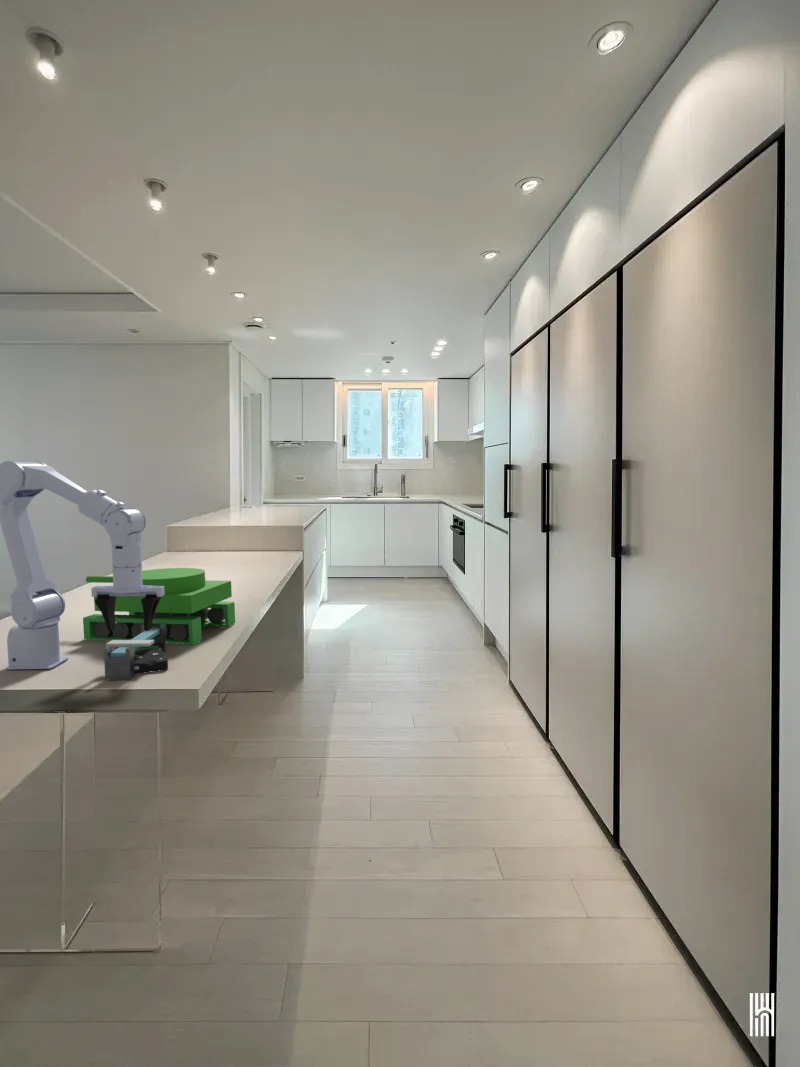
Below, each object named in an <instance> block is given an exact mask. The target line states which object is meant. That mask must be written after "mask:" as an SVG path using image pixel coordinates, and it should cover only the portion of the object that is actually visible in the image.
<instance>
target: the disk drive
mask: <svg viewBox="0 0 800 1067" xmlns="http://www.w3.org/2000/svg"><path fill="white" fill-rule="evenodd" d="M116 649H117V648H115V649H113V651H114V650H116ZM134 669H135V675H138V674H137V673H140V674H145V673H144V672H148V673H151V672H150V671H156V672H159V671H158V670H163V671H167V670H166V669H168V670H169V661H168V657H167V656H166V655H165V652H163V651H162V649H161V646H160V645H159V644H156V645H150V646H140V647H139V648H137V649H136V650H135V651H134Z"/></svg>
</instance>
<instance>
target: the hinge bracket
mask: <svg viewBox="0 0 800 1067" xmlns="http://www.w3.org/2000/svg"><path fill="white" fill-rule="evenodd" d="M160 628H161V635H156V636H154V637H153V638H152V639H150V640H154V643H153V644H152V645H156V644H159V645H160V646H161V649H162V651H163V653H166V652H167V651H166V650H168V648H167V644H168V643H166V635H167V632H166V623H162V624H160ZM141 631H142V632H144V631H145V630H144V623H143V624H142V625H141ZM165 651H166V652H165Z"/></svg>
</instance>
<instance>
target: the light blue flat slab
mask: <svg viewBox="0 0 800 1067" xmlns="http://www.w3.org/2000/svg"><path fill="white" fill-rule="evenodd" d="M159 633H161V628H151V629H150V630H149V631H144V632H142V633H140V634H139V635H137V636H136V637H134V638H133V639H131V640H111V641H108V642H107V643H106V644H105V648H106V647H107V646H112V647H118V648H115V649H116V650H114V649H113V650H114V651H113V652H111V657H126V650H125V649H126V648H127V647H129V646H134V651H135V650H136V649H137V648H139V647H140V646H150V645H152V644H153V643H154V640H150V639H152V638H153V637H154V636H156V635H157V634H159Z"/></svg>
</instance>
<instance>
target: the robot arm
mask: <svg viewBox="0 0 800 1067" xmlns="http://www.w3.org/2000/svg"><path fill="white" fill-rule="evenodd" d="M45 490H47V491H50V492H51V493H54V494H56V495H58V496H60V497H62V498H63V499H66V500H67V501H69V502H71V503H72V504H75V505H77V507H78V511H79V513H80V514H82V515H83V516H84V517H87V518H89V519H90V520H92V521H94V522H96V523H97V524H99V525H101V526H103V527H104V529H105V531H106V533H107V534H108V535H109V539H110V540H109V541H110V543H111V558H112V559H111V562H112V563H111V564H112V576H113V583H112V585H96V586H92V587H91V588H90V589H91V597H92V598H94V597H97V599H96V600H95V604H96V605H97V606H98V608H99V609H100V611H99V612H100V614H102V615H103V617H104V620H105V622H106V626H107V629H108V631H112V630H114V629H115V623H116V622H115V615H116V612H115V601H116V596H146V597H144V598H143V599H141V602H142V606H143V613H144V630H145V631H149V630H150V629H151V626H152V620H153V616H154V613H155V610H156V608H157V605H158V603H159V601H160V599H161V597H162V596H163V595H165V594H164V586H151V585H143V583H142V571H143V561H142V560H143V559H142V558H143V557H142V556H143V554H142V532H143V531H144V530H145V528H146V525H147V520H146V515H144V513H143V512H142V511H141V510H140V509H138V508H137V507H135V506H134V507H126V506H125V503H124V502H122V501H116V500H114V499H113V498H111V497H110V496H108V495H106V494H107V491H105V490H103V489H98V490H96V489H91V490H88V491H87V490H85V489H84V488H82V487H81V486H80V485H78V484H76V483H75V482H73V481H72V480H70V479H69V478H67V477H66V476H64V475H63V474H61V473H59V472H58V471H56V470H55V468H54V467H53V466H49V465H47V464H46V463H44V462H42V461H30V462H29V461H12V460H6V461H5V460H4V461H3V462H1V463H0V527H1V531H2V535H3V538H4V541H5V544H6V549H7V552H8V554H9V559H10V562H11V566H12V570H13V572H14V576H15V579H16V583H17V584H16V586H15V588H13V591H12V592H11V593H10V594H9V596H10V597H9V598H10V600H11V608H10V615H11V618H12V620H13V622H15V625H13V626H12V627H11V628H10V629H9V630H8V633H7V638H6V639H7V640H6V642H7V643H6V645H7V662H8V665H7V666H6V670H51V669H53V668H55V667H57V666H58V665H59V666H60V664H62V663H64V662H66V661H67V660H68V659H69V657H68V656H61V654H60V652H61V651H60V650H61V649H60V632H59V628H60V627H59V622H60V621H61V618H60V617H61V616H62V615H63V613H64V612H65V611H66V610H65V608H66V600H65V599H64V597H63V595H62V594H61V593H60V592H59V590H58V587H57V584H56V583H54V581H52V580H50V579H49V578H48V577H47V576H46V573H45V570H44V566H43V562H42V559H41V556H40V552H39V548H38V546H37V541H36V538H35V534H34V530H33V526H32V523H31V520H30V516H29V513H28V510H27V508H28V506H29V505H30V503H31V502H32V500H34V499H35V498H36V497H37V496H38V495H40V494H41V493H42V492H44V491H45Z"/></svg>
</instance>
